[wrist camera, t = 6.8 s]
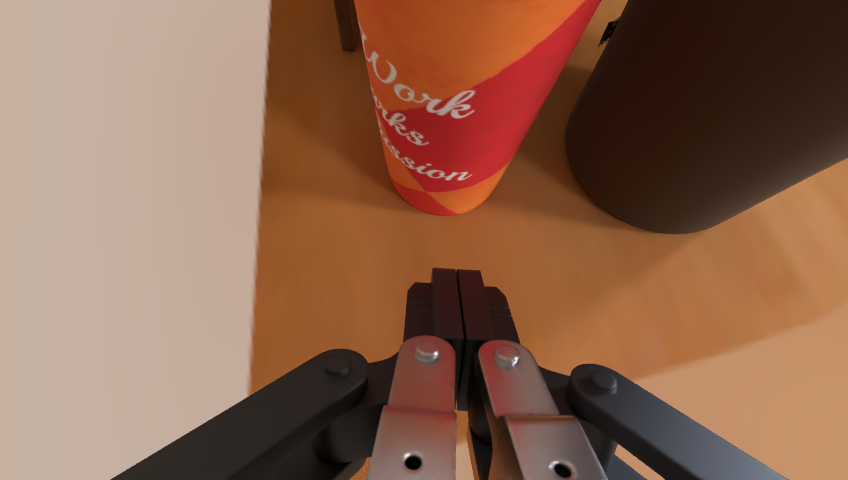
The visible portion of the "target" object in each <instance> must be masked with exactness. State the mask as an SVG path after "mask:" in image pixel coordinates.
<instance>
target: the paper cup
mask: <svg viewBox="0 0 848 480" xmlns="http://www.w3.org/2000/svg"><path fill="white" fill-rule="evenodd" d="M600 2H601V0H354V3H355V8H356V13H357V18H358V24H359V29H360V34H361V39H362V44H363V49H364V55H365V60H366V65H367V70H368V75H369V80H370V85H371V90H372V96H373V101H374V106H375V111H376V116H377V121H378V126H379V131H380V136H381V140H382V145H383V150H384V155H385V159H386V163H387V168H388V171H389V175H390V178H391V181H392V183H393V185H394V187H395V189H396V190H397V192H398V193H399V194H400V196H401V197H402V198H403V199H404V200H405V201H407V202H408V203H409V204H410V205H412V206H413V207H415V208H417V209H419V210H421V211H424V212H427V213H430V214H434V215H445V216H447V215H457V214H461V213H464V212H467V211H470V210H472V209H474V208H475V207H477V206H478V205H480V204H481V203H482V202H483V201H484V200H486V199H487V197H488V196H489V195H490V194H491V193H492V191H493V190H494V188H495V187H496V185H497V184H498V182H499V180H500V179H501V177H502V175H503V174H504V172H505V170H506V169H507V167H508V165H509V163H510V162H511V160H512V158H513V157H514V155H515V153H516V151H517V150H518V148H519V146H520V144H521V143H522V141H523V139H524V137H525V135H526V134H527V132H528V130H529V128H530V127H531V125H532V123H533V121H534V120H535V118H536V116H537V114H538V112H539V111H540V109H541V107H542V105H543V104H544V102H545V100H546V98H547V96H548V95H549V93H550V91H551V89H552V87H553V86H554V84H555V82H556V80H557V78H558V77H559V75H560V73H561V71H562V70H563V68H564V66H565V64H566V62H567V61H568V59H569V57H570V55H571V53H572V52H573V50H574V48H575V46H576V45H577V43H578V41H579V39H580V37H581V36H582V34H583V32H584V30H585V28H586V27H587V25H588V23H589V21H590V20H591V18H592V16H593V14H594V12H595V11H596V9H597V7H598V5H599V4H600Z"/></svg>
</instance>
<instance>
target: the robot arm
mask: <svg viewBox="0 0 848 480" xmlns="http://www.w3.org/2000/svg"><path fill="white" fill-rule="evenodd" d="M456 398H457V410H459V411H468V418H469V421H468V428H467V442H468V448H469V453H470V459H471V464H472V469H473V475H474V479H475V480H647V479H645V478H644V477H643V476H641V475H640V474H639V473H638V472H636V471H635V470H634V469H632V468H631V467H630V466H629V465H627V464H626V463H625V462H624V461H622V460H621V459H619V458H618V457H617V456H616V455H615V450H616V448H617V445H618V444H619V445H621V446H622V447H623V448H625V449H626V450H627V451H629V452H630V453H631V454H633V455H634V456H635V457H637V458H638V459H639V460H641V461H642V462H643V463H645V464H646V465H647V466H649V467H650V468H651V469H652V470H654V471H655V472H657V473H658V474H659V475H661V476H662V477H663V478H664V479H665V480H788V479H787V478H785V477H783V476H782V475H780V474H779V473H777V472H775V471H774V470H772V469H770V468H769V467H767V466H766V465H764V464H763V463H761V462H760V461H758V460H756V459H755V458H753V457H752V456H750V455H748V454H747V453H745V452H744V451H742V450H740V449H739V448H737V447H736V446H734V445H732V444H731V443H729V442H727V441H726V440H724V439H723V438H721V437H720V436H718V435H716V434H715V433H713V432H712V431H710V430H708V429H707V428H705V427H704V426H702V425H700V424H699V423H697V422H695V421H694V420H692V419H691V418H689V417H688V416H686V415H685V414H683V413H681V412H680V411H678V410H676V409H675V408H673V407H672V406H670V405H669V404H667V403H665V402H664V401H662V400H660V399H659V398H657V397H656V396H654V395H653V394H651V393H649V392H648V391H646V390H644V389H643V388H641V387H640V386H638V385H637V384H635V383H633V382H632V381H630V380H629V379H627V378H625V377H624V376H622V375H621V374H619V373H617V372H616V371H614V370H612V369H610V368H607V367H604V366H601V365H597V364H582V365H579V366H577V367H575V368H574V369H573V370H572V372H571V375H570V376H567V375H563V374H560V373H556V372H553V371H550V370H547V369H544V368H542V367H540V366H538V365H537V363H536V360H535V358H534V356H533V355H532V353H531V352H530V351H529V350H528V349H527V348H525V347H524V346H522V345H521V344H520V341H519V338H518V335H517V331H516V328H515V325H514V322H513V319H512V317H511V312H510V309H509V306H508V303H507V299H506V296H505V295H504V294H503V293H502V292H501V291H500V290H499V289H498V288H497V287H488V286H484V285H483V281H482V276H481V272H480V271H478V270H461V269H457V270H455V269H444V268H432V277H431V283H420V282H415V283H414V284H413V285H412V286H411V287H410V289H409V290H408V293H407V305H406V316H405V328H404V339H403V344H402V345H401V346H400V349H399V351H398V352H397V353H396V354H395V355H393V356H392V357H390V358H388V359H385V360H382V361H378V362H373V363H367V361H366V359H365V358H364V357H363V356H362V355H361V354H359V353H357V352H355V351H352V350H348V349H333V350H329V351H325V352H323V353H321V354H319V355H317V356H315V357H314V358H312V359H310V360H309V361H307V362H305V363H304V364H302V365H300V366H299V367H297V368H295V369H294V370H292V371H290V372H289V373H287V374H285V375H284V376H282V377H280V378H279V379H277V380H275V381H274V382H272V383H270V384H269V385H267V386H265V387H264V388H262V389H260V390H259V391H257V392H255V393H254V394H252V395H250V396H249V397H247V398H245V399H244V400H242V401H241V402H239V403H238V404H236V405H234V406H232V407H231V408H229V409H227V410H225V411H224V412H222V413H221V414H219V415H217V416H215V417H214V418H212V419H210V420H209V421H207V422H206V423H204V424H202V425H201V426H199V427H197V428H196V429H194V430H192V431H191V432H189V433H187V434H186V435H184V436H182V437H181V438H179V439H177V440H176V441H174V442H172V443H171V444H169V445H167V446H166V447H164V448H162V449H161V450H159V451H157V452H156V453H154V454H152V455H151V456H149V457H148V458H146V459H144V460H142V461H141V462H139V463H137V464H136V465H134V466H132V467H131V468H129V469H127V470H126V471H124V472H122V473H121V474H119V475H117V476H116V477H114V478H112V479H111V480H349V479H350V478H351V477H352V476H353V475H354V474H356V473H357V472H358V471H359V470H360V469H361V468H362V466H363V465H364V463H365V461H366V458H367V457H371V456H372V457H371V461H370V466H369V470H368V475H367V479H366V480H455V471H456V413H454V410H455V406H456Z"/></svg>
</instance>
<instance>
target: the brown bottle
mask: <svg viewBox="0 0 848 480" xmlns="http://www.w3.org/2000/svg"><path fill="white" fill-rule="evenodd" d="M608 38H610V39H609V40H608ZM606 40H608V41H606ZM603 41H606V42H608V43H607V45H606V47H605V49H604V51H603V53H602V55H601V57H600V59H599V61H598V63H597V64H596V66H595V68H594V70H593V72H592V74H591V76H590V78H589V80H588V82H587V84H586V85H585V87H584V89H583V91H582V93H581V95H580V97H579V99H578V101H577V103H576V105H575V107H574V109H573V111H572V113H571V116H570V118H569V122H568V126H567V131H566V148H567V153H568V158H569V161H570V164H571V167H572V169H573V171H574V173H575V175H576V177H577V179H578V180H579V182H580V183H581V185H582V186H583V188H584V189H585V190H586V191H587V193H588V194H589V195H590V196H591V197H592V198H593V199H594V200H595V201H596V202H597V203H598V204H599V205H600V206H602V207H603V208H604V209H605V210H607V211H608V212H610V213H611V214H613V215H614V216H616V217H617V218H619V219H621V220H623V221H625V222H627V223H629V224H631V225H634V226H636V227H639V228H642V229H645V230H649V231H653V232H658V233H665V234H686V233H693V232H698V231H701V230H705V229H708V228H710V227H713V226H715V225H717V224H719V223H721V222H723V221H725V220H727V219H729V218H731V217H733V216H735V215H737V214H739V213H741V212H743V211H745V210H747V209H748V208H750V207H752V206H754V205H756V204H758V203H760V202H762V201H764V200H766V199H768V198H770V197H772V196H773V195H775V194H777V193H779V192H781V191H783V190H785V189H787V188H789V187H791V186H793V185H795V184H797V183H798V182H800V181H802V180H804V179H806V178H808V177H810V176H812V175H814V174H816V173H818V172H820V171H822V170H824V169H826V168H828V167H830V166H832V165H834V164H836V163H838V162H840V161H842V160H844V159H846V158H848V0H628V2H627V4H626V6H625V8H624V10H623V12H622V14H621V16H620V17H619V18H617V19H616V20H615V21H612V22H609V23H608V25H607V27H606V30H605V32H604V34H603V36H602V38H601V41H600V43H601V44H599V45H602V44H603V43H606V42H603ZM598 47H599V46H598Z"/></svg>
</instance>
